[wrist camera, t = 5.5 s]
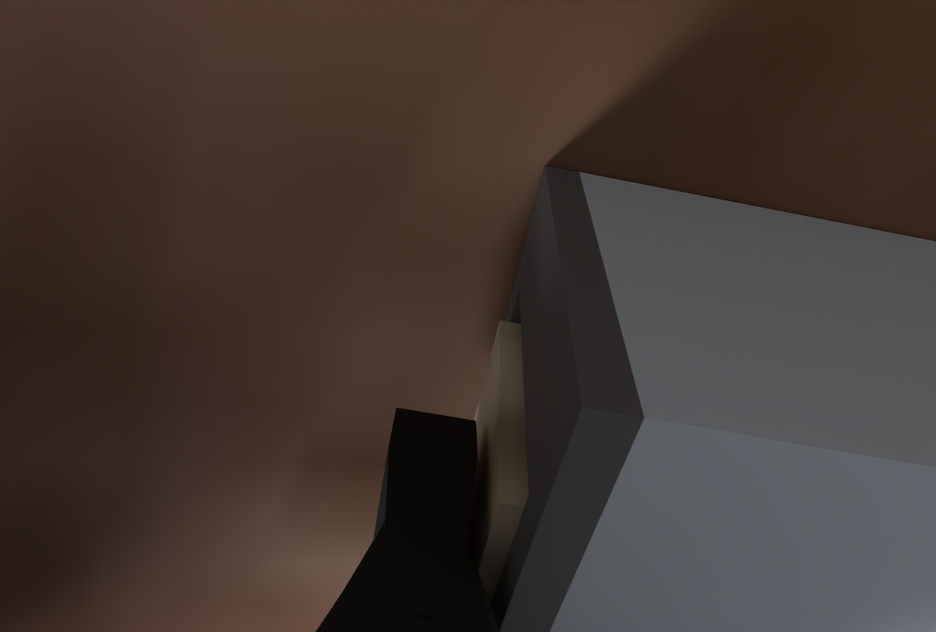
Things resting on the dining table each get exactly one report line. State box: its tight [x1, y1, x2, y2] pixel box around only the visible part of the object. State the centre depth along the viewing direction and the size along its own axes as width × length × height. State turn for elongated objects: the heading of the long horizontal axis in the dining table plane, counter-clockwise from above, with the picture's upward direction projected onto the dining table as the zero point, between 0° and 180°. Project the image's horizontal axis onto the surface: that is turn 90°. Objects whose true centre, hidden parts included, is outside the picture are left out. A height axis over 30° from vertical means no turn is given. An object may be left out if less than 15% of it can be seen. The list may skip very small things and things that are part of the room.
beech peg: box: [468, 320, 529, 606], centre depth 10 cm, size 10×4×4 cm, turn 79°
